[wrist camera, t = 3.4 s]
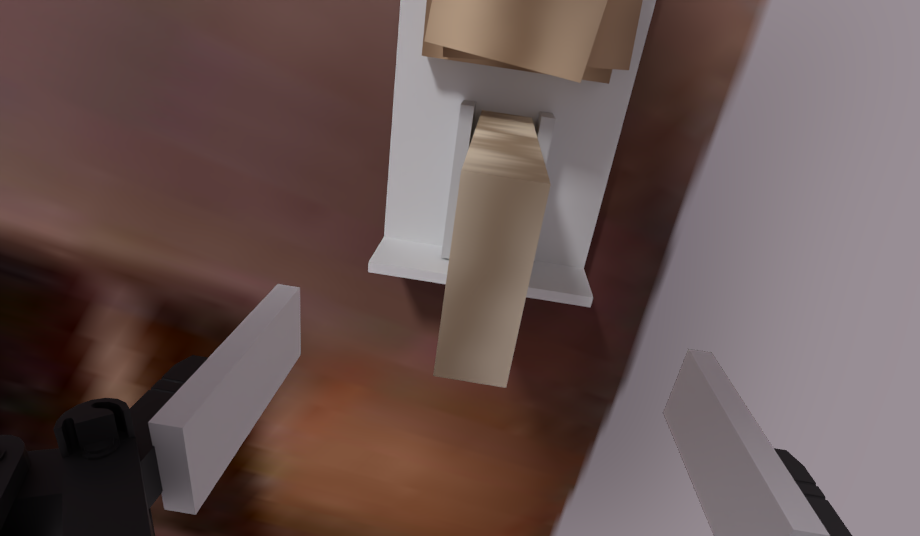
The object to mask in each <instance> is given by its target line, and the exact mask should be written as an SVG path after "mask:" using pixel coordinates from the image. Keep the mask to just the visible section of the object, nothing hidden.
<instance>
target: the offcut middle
mask: <svg viewBox="0 0 920 536" xmlns="http://www.w3.org/2000/svg"><path fill="white" fill-rule="evenodd" d="M642 1H643V0H608V1H607V4H606V7H605V10H604V13H603V16H602V19H601V22H600V25H599V28H598V31H597V34H596V37H595V40H594V43H593V46H592V49H591V53H590V56H589V59H588V62H587V65H586V67H590V68H603V69H617V70H629V68H630V62H631V57H632V52H633V47H634V42H635V37H636V32H637V27H638V22H639V17H640V12H641V6H642ZM443 57H451V58H465V59H479V60H493V59H489V58H485V57H481V56H478V55H474V54H470V53H466V52H463V51H459V50H455V49H451V48H448V47H444V46H443ZM493 61H496V60H493Z"/></svg>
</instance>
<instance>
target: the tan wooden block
mask: <svg viewBox="0 0 920 536" xmlns="http://www.w3.org/2000/svg"><path fill="white" fill-rule="evenodd" d="M550 186H551V183H550V180H549V176H548V173H547V169H546V166H545V162H544V159H543V155H542V152H541V148H540V145H539V141H538V138H537V134H536V131H535V127H534V124H533V120H532V117H525V116H518V115H512V114H505V113H499V112H492V111H485V110H482V111H481V114H480V117H479V120H478V123H477V126H476V129H475V132H474V135H473V138H472V140H471V143H470V146H469V149H468V152H467V155H466V158H465V161H464V164H463V167H462V170H461V175H460V183H459V190H458V198H457V205H456V212H455V220H454V227H453V234H452V242H451V249H450V256H449V264H448V271H447V279H446V286H445V293H444V301H443V308H442V315H441V323H440V330H439V338H438V345H437V352H436V360H435V367H434V374H433V376H437V377H443V378H449V379H456V380H462V381H468V382H474V383H480V384H486V385H492V386H498V387H504V388H506V386H507V381H508V377H509V372H510V368H511V363H512V359H513V354H514V350H515V345H516V340H517V336H518V331H519V327H520V322H521V318H522V313H523V309H524V304H525V299H526V295H527V290H528V286H529V281H530V277H531V272H532V268H533V263H534V258H535V254H536V249H537V245H538V240H539V236H540V231H541V227H542V222H543V217H544V213H545V208H546V204H547V199H548V195H549V190H550Z"/></svg>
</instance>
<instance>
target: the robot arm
mask: <svg viewBox="0 0 920 536" xmlns="http://www.w3.org/2000/svg"><path fill="white" fill-rule="evenodd" d="M300 355H301V333H300V287H293V286H287V285H281V284H277V285H276V286H275V287H274V289H273V290H272V291H271V292H270V293H269V294H268V295H267V296H266V297H265V298H264V299H263V300H262V301H261V302H260V303H259V304H258V306H257V307H256V308H255V309H254V310H253V311H252V312H251V313H250V314H249V315H248V316H247V317H246V318H245V319H244V320H243V322H242V323H241V324H240V325H239V326H238V327H237V328H236V329H235V330H234V331H233V332H232V333H231V334H230V335H229V336H228V338H227V339H226V340H225V341H224V342H223V343H222V344H221V345H220V346H219V347H218V348H217V349H216V350H215V351H214V352H213V354H212V355H211V356H210V357H209V358H207V357H200V356H194V355H192V356H190V357H188V358H187V359H185V360H183V361H181V362H179V363H177V364H175V365H174V366H173V367H172V368H171V369H170V370H169V371H168V372H167V373H166V374H165V375H164V376H163V377H162V379H161V380H159V381H158V382H157V383H156V384H155V385H154V386H153V387H152V388H151V390H148V391H147V392H146V393H145V394H144V395H143V396H142V397H141V398H140V399H139V400H138V401H137V402H136V403H135V404H134V405H133V406H132V407H131V408H130V409H129V407H128V405H127V404H126V403H125V402H123V401H121V400H119V399H112V398H102V399H95V400H90V401H87V402H84V403H82V404H79V405H77V406H75V407H73V408H71V409H70V410H68V411H66V412H65V413H64V414H63V415H62V416H61V417H60V418H59V419H58V420H57V421H56V424H55V427H54V432H55V436H56V439H57V442H58V446H59V449H49V450H37V451H27V450H26V447H25V444H24V443H23V441H22V440H21V439H20V438H19V437H15V436H12V435H0V536H155V532H154V526H153V520H152V514H151V510H150V507H151V506H152V504H153V503H154V502H155V501H156V499H157V498H158V497H159V495H160V494H161V493H162V499H163V504H164V509H165V510H171V511H177V512H183V513H189V514H195V515H196V513H197V512H198V510H199V509H200V507H201V506H202V504H203V503H204V501H205V500H206V498H207V497H208V495H209V493H210V492H211V490H212V489H213V487H214V486H215V484H216V483H217V481H218V480H219V478H220V477H221V475H222V474H223V472H224V471H225V469H226V468H227V466H228V465H229V463H230V461H231V460H232V458H233V457H234V455H235V454H236V452H237V451H238V449H239V448H240V446H241V445H242V443H243V442H244V440H245V439H246V437H247V436H248V434H249V433H250V431H251V429H252V428H253V426H254V425H255V423H256V422H257V420H258V419H259V417H260V416H261V414H262V413H263V411H264V410H265V408H266V407H267V405H268V404H269V402H270V401H271V399H272V397H273V396H274V394H275V393H276V391H277V390H278V388H279V387H280V385H281V384H282V382H283V381H284V379H285V378H286V376H287V375H288V373H289V372H290V370H291V369H292V367H293V365H294V364H295V362H296V361H297V359H298V358H299V356H300ZM663 414H664V416H665V419H666V421H667V424H668V426H669V428H670V431H671V433H672V436H673V438H674V441H675V443H676V445H677V448H678V450H679V453H680V455H681V457H682V460H683V462H684V465H685V467H686V469H687V472H688V474H689V477H690V479H691V482H692V484H693V486H694V489H695V491H696V494H697V496H698V498H699V501H700V503H701V506H702V508H703V511H704V513H705V516H706V518H707V520H708V523H709V525H710V528H711V530H712V532H713V535H714V536H852V535H851V534H850V532H849V530H848V529H847V528H846V527H845V525H844V523H843V522H842V520H841V519H840V517H839V516H838V515H837V513H836V512H835V510H834V509H833V507H832V506H831V505H830V503H829V502H828V501H827V500H825V496H824V494H823V493H822V492H821V490H820V489H819V487H818V486H816V483H815V481H814V480H813V478H812V477H811V476H810V474H809V473H808V472H807V470H806V468H805V467H804V466H803V465H802V464H801V463H800V462H799V461H798V460H797V459H795V458H794V457H793V456H792V455H791V454H790V453H789V452H787V451H786V450H780V449H775V448H773V447H772V445H771V443H770V442H769V440H768V439H767V437H766V436H765V434H764V433H763V431H762V430H761V428H760V426H759V425H758V424H757V422H756V420H755V419H754V417H753V416H752V414H751V413H750V411H749V409H748V408H747V406H746V405H745V403H744V402H743V400H742V399H741V397H740V396H739V394H738V393H737V391H736V389H735V388H734V386H733V385H732V383H731V382H730V380H729V379H728V377H727V375H726V374H725V372H724V371H723V369H722V368H721V366H720V365H719V363H718V362H717V360H716V359H715V357H714V355H713V354H712V353H711V352H705V351H698V350H692V349H688V351H687V354H686V356H685V359H684V361H683V364H682V367H681V369H680V372H679V374H678V377H677V379H676V382H675V384H674V387H673V389H672V392H671V394H670V397H669V399H668V402H667V404H666V407H665V409H664V412H663Z"/></svg>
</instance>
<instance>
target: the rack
mask: <svg viewBox="0 0 920 536" xmlns="http://www.w3.org/2000/svg"><path fill="white" fill-rule="evenodd" d="M426 2H427V0H401V2H400V16H399V30H398V45H397V59H396V73H395V87H394V101H393V116H392V130H391V144H390V158H389V173H388V187H387V201H386V215H385V230H384V238H383V239H382V241H381V243H380V244H379V246H378V247H377V249H376V251H375V252H374V254H373V256H372V257H371V259H370V261H369V264H368V272H371V273H378V274H384V275H390V276H396V277H403V278H409V279H415V280H422V281H428V282H434V283H440V284H446V279H447V271H448V264H449V256H450V249H451V242H452V234H453V227H454V220H455V212H456V205H457V198H458V190H459V183H460V175H461V170H462V167H463V164H464V161H465V158H466V155H467V152H468V149H469V146H470V143H471V140H472V138H473V135H474V132H475V129H476V126H477V123H478V120H479V117H480V114H481V111H482V110H485V111H492V112H499V113H505V114H512V115H518V116H525V117H532V120H533V124H534V127H535V131H536V134H537V138H538V141H539V145H540V148H541V152H542V155H543V159H544V162H545V166H546V169H547V173H548V176H549V180H550V183H551V186H550V190H549V195H548V199H547V204H546V208H545V213H544V217H543V222H542V227H541V231H540V236H539V240H538V245H537V249H536V254H535V258H534V263H533V268H532V272H531V277H530V281H529V286H528V290H527V295H526V297H528V298H535V299H541V300H547V301H553V302H560V303H566V304H572V305H578V306H585V307H591V304H592V300H593V295H592V292H591V289H590V286H589V283H588V280H587V277H586V274H585V271H584V266H585V262H586V258H587V255H588V251H589V247H590V243H591V240H592V236H593V232H594V229H595V225H596V221H597V218H598V214H599V210H600V206H601V203H602V199H603V195H604V192H605V188H606V184H607V181H608V177H609V173H610V170H611V166H612V162H613V158H614V155H615V151H616V147H617V144H618V140H619V136H620V133H621V129H622V125H623V121H624V118H625V114H626V110H627V107H628V103H629V99H630V96H631V92H632V88H633V84H634V81H635V77H636V73H637V70H638V66H639V62H640V59H641V55H642V51H643V48H644V44H645V40H646V36H647V33H648V29H649V25H650V22H651V18H652V14H653V11H654V7H655V3H656V0H643V1H642V6H641V12H640V17H639V22H638V27H637V32H636V37H635V42H634V47H633V52H632V57H631V62H630V68H629V70H617V69H613V70H612V74H611V78H610V82H609V84H607V83H601V82H594V81H587V80H581V83H578V82H575V81H571V80H567V79H564V78H560V77H556V76H552V75H547V74H540V73H534V72H527V71H520V70H513V69H507V68H500V67H493V66H487V65H480V64H473V63H467V62H460V61H453V60H446V59H440V58H433V57H426V56H422V46H423V35H424V24H425V13H426Z"/></svg>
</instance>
